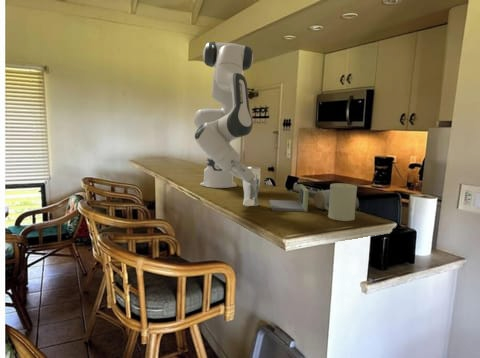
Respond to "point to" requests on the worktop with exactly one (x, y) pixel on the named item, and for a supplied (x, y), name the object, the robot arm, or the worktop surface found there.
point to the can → (342, 202)
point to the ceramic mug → (322, 199)
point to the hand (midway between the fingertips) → (251, 184)
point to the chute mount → (292, 202)
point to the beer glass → (251, 188)
